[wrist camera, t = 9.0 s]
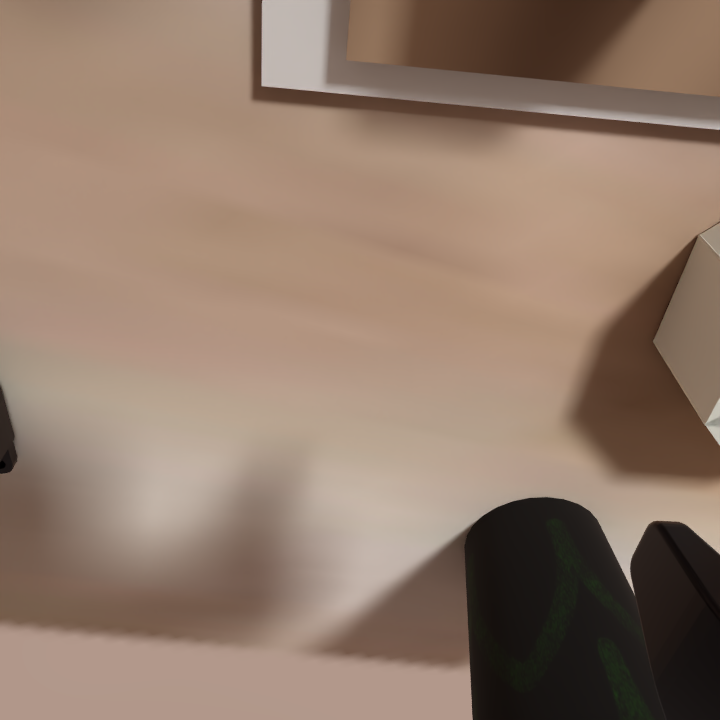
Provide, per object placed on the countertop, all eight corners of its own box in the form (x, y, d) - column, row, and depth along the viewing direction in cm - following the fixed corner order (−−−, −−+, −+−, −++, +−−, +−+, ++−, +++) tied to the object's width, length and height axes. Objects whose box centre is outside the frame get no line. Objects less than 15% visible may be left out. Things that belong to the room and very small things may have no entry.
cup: (402, 533, 27) (426, 901, 18) (572, 448, 24) (713, 830, 15) (500, 618, 31) (566, 962, 21) (658, 553, 28) (816, 915, 18)
